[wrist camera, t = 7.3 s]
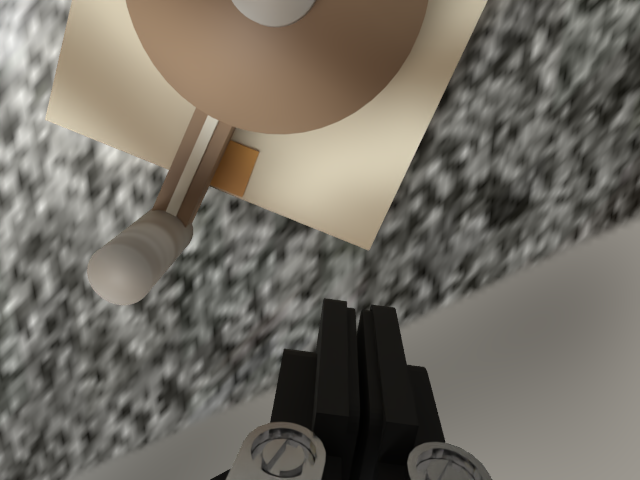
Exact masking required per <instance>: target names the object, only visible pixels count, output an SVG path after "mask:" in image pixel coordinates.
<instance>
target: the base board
mask: <svg viewBox="0 0 640 480" xmlns="http://www.w3.org/2000/svg"><path fill="white" fill-rule="evenodd" d="M487 1H488V0H428V5H427V10H426V14H425V17H424V20H423V23H422V26H421V29H420V32H419V35H418V37H417V39H416V41H415V43H414V46H413V48H412V50H411V52H410V54H409V56H408V57H407V59H406V60H405V62H404V63H403V65H402V67H401V68H400V70H399V71H398V73H397V74H396V75H395V76H394V77H393V79H392V80H391V81H390V82H389V84H388V85H387V86H386V87H385V88H384V89H383V90H382V91H381V92H380V93H379V94H378V95H377V96H376V97H375V98H374V99H373V100H372V101H370V102H369V103H367V104H366V105H365V106H363V107H362V108H361V109H359V110H358V111H357V112H355V113H353V114H351V115H350V116H348V117H346V118H344V119H342V120H341V121H339V122H336V123H333V124H331V125H328V126H326V127H323V128H320V129H316V130H312V131H308V132H304V133H294V134H264V133H257V132H251V131H246V130H243V129H240V128H237V127H236V129H235V131H234V133H233V135H232V137H231V140H230V142H229V144H228V146H227V148H226V151H225V153H224V155H223V157H222V159H221V161H220V164H219V166H218V168H217V170H216V172H215V174H214V177H213V179H212V181H211V183H210V185H209V186H211V187H213V188H215V189H218V190H220V191H223V192H225V193H228V194H230V195H233V196H235V197H238V198H240V199H243V200H245V201H248V202H250V203H253V204H255V205H258V206H260V207H263V208H265V209H268V210H270V211H272V212H275V213H277V214H280V215H282V216H285V217H287V218H290V219H292V220H295V221H297V222H300V223H302V224H305V225H307V226H310V227H312V228H315V229H317V230H320V231H322V232H324V233H327V234H329V235H332V236H334V237H337V238H339V239H342V240H344V241H347V242H349V243H352V244H354V245H357V246H359V247H362V248H364V249H367V250H369V249H370V247H371V245H372V243H373V241H374V239H375V237H376V235H377V233H378V230H379V228H380V226H381V224H382V222H383V220H384V218H385V216H386V214H387V211H388V209H389V207H390V205H391V203H392V201H393V199H394V197H395V195H396V193H397V190H398V188H399V186H400V184H401V182H402V180H403V178H404V176H405V174H406V171H407V169H408V167H409V165H410V163H411V161H412V159H413V157H414V155H415V152H416V150H417V148H418V146H419V144H420V142H421V140H422V138H423V136H424V134H425V131H426V129H427V127H428V125H429V123H430V121H431V119H432V117H433V115H434V112H435V110H436V108H437V106H438V104H439V102H440V100H441V98H442V96H443V93H444V91H445V89H446V87H447V85H448V83H449V81H450V79H451V77H452V75H453V72H454V70H455V68H456V66H457V64H458V62H459V60H460V58H461V56H462V53H463V51H464V49H465V47H466V45H467V43H468V41H469V39H470V37H471V34H472V32H473V30H474V28H475V26H476V24H477V22H478V20H479V18H480V16H481V13H482V11H483V9H484V7H485V5H486V3H487ZM195 109H196V107H195V106H193V105H192V104H191V103H189V102H188V101H187V100H186V99H184V98H183V97H182V96H181V95H180V94H179V93H178V92H177V91H176V90H175V89H174V88H173V87H172V86H171V85H170V84H169V83H168V82H167V81H166V80H165V79H164V77H163V76H162V75H161V74H160V72H159V71H158V70H157V68H156V67H155V66H154V65H153V63H152V61H151V60H150V58H149V56H148V55H147V53H146V51H145V50H144V48H143V46H142V44H141V42H140V40H139V38H138V36H137V33H136V31H135V29H134V27H133V24H132V21H131V18H130V15H129V11H128V8H127V5H126V0H72V3H71V8H70V12H69V16H68V21H67V25H66V30H65V34H64V38H63V43H62V47H61V52H60V56H59V61H58V65H57V69H56V74H55V78H54V83H53V87H52V91H51V96H50V100H49V105H48V109H47V113H46V118H45V120H47V121H50V122H52V123H54V124H57V125H59V126H62V127H64V128H67V129H69V130H72V131H74V132H77V133H79V134H82V135H84V136H87V137H89V138H92V139H94V140H97V141H99V142H102V143H104V144H107V145H109V146H111V147H114V148H116V149H119V150H121V151H124V152H126V153H129V154H131V155H134V156H136V157H139V158H141V159H144V160H146V161H149V162H151V163H154V164H156V165H159V166H161V167H163V168H166V169H168V170H169V169H170V167H171V165H172V162H173V160H174V158H175V155H176V153H177V151H178V148H179V146H180V144H181V141H182V139H183V137H184V134H185V132H186V130H187V127H188V125H189V123H190V120H191V118H192V116H193V113H194V111H195Z"/></svg>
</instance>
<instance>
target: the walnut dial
mask: <svg viewBox="0 0 640 480" xmlns="http://www.w3.org/2000/svg"><path fill="white" fill-rule="evenodd" d="M126 5H127V8H128V11H129V15H130V18H131V21H132V24H133V27H134V29H135V31H136V33H137V36H138V38H139V40H140V42H141V44H142V46H143V48H144V50H145V51H146V53H147V55H148V56H149V58H150V60H151V61H152V63H153V65H154V66H155V67H156V68H157V70H158V71H159V72H160V74H161V75H162V76H163V77H164V79H165V80H166V81H167V82H168V83H169V84H170V85H171V86H172V87H173V88H174V89H175V90H176V91H177V92H178V93H179V94H180V95H181V96H182V97H183V98H184V99H186V100H187V101H188V102H189V103H191V104H192V105H193V106H195V107H196V109H195V111H194V113H193V116H192V118H191V120H190V123H189V125H188V127H187V130H186V132H185V134H184V137H183V139H182V141H181V144H180V146H179V148H178V151H177V153H176V155H175V158H174V160H173V162H172V165H171V167H170V169H169V172H168V174H167V176H166V179H165V181H164V183H163V186H162V188H161V190H160V193H159V195H158V197H157V200H156V202H155V204H154V207H153V208H152V209H151V210H150V211H149V212H147V213H146V214H145V215H143V216H142V217H141V218H139V219H138V220H137V221H136V222H134V223H133V224H132V225H130V226H129V227H128V228H126V229H125V230H124V231H123V232H121V233H120V234H119V235H117V236H116V237H115V238H113V239H112V240H111V241H110V242H108V243H107V244H106V245H104V246H103V247H102V248H100V249H99V250H98V251H97V252H95V253H94V254H93V256H92V257H91V258H90V261H89V263H88V268H87V274H88V279H89V282H90V284H91V286H92V288H93V289H94V291H95V292H96V293H97V294H98V295H99V296H100V297H102V298H103V299H105V300H106V301H108V302H111V303H114V304H118V305H129V304H133V303H136V302H138V301H140V300H141V299H143V298H144V297H145V296H146V294H147V293H148V292H149V291H150V290H151V289H152V287H153V286H154V285H155V284H156V283H157V281H158V280H159V279H160V278H161V277H162V275H163V274H164V273H165V272H166V271H167V270H168V268H169V267H170V266H171V265H172V264H173V262H174V261H175V260H176V259H177V258H178V256H179V255H180V254H181V253H182V252H183V250H184V249H185V248H186V247H187V246H188V244H189V243H190V241H191V239H192V236H193V226H192V222H193V220H194V218H195V216H196V213H197V211H198V209H199V207H200V205H201V203H202V200H203V198H204V196H205V194H206V192H207V190H208V187H209V185H210V183H211V181H212V179H213V177H214V174H215V172H216V170H217V168H218V166H219V164H220V161H221V159H222V157H223V155H224V153H225V151H226V148H227V146H228V144H229V142H230V140H231V137H232V135H233V133H234V131H235V129H236V127H237V128H240V129H243V130H246V131H251V132H257V133H264V134H294V133H304V132H308V131H312V130H316V129H320V128H323V127H326V126H328V125H331V124H333V123H336V122H339V121H341V120H342V119H344V118H346V117H348V116H350V115H351V114H353V113H355V112H357V111H358V110H359V109H361V108H362V107H363V106H365V105H366V104H367V103H369V102H370V101H372V100H373V99H374V98H375V97H376V96H377V95H378V94H379V93H380V92H381V91H382V90H383V89H384V88H385V87H386V86H387V85H388V84H389V82H390V81H391V80H392V79H393V77H394V76H395V75H396V74H397V73H398V71H399V70H400V68H401V67H402V65H403V63H404V62H405V60H406V59H407V57H408V56H409V54H410V52H411V50H412V48H413V46H414V43H415V41H416V39H417V37H418V35H419V32H420V29H421V26H422V23H423V20H424V17H425V14H426V10H427V5H428V0H126Z"/></svg>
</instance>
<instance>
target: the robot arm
mask: <svg viewBox="0 0 640 480" xmlns="http://www.w3.org/2000/svg"><path fill="white" fill-rule="evenodd" d="M211 480H492V479H491V476H490V475H489V473H488V472H487V470H486V469H485V467H484V466H483V465H482V463H481V462H480V461H479V460H478V459H476V458H475V457H474V456H473V455H472V454H470V453H469V452H466V451H465V450H463V449H462V448H460V447H457V446H454V445H451V444H448V443H445V439H444V435H443V431H442V427H441V423H440V420H439V416H438V412H437V408H436V404H435V400H434V396H433V392H432V388H431V384H430V381H429V377H428V373H427V370H426V368H424V367H420V366H412V365H407V364H406V359H405V354H404V349H403V344H402V339H401V334H400V329H399V324H398V319H397V314H396V309H395V308H393V307H386V306H378V305H371V307H370V310H362V311H361V315H360V320H359V326H358V331H357V335H356V315H355V309H354V308H347V301H340V300H333V299H325V298H324V300H323V306H322V313H321V320H320V326H319V333H318V340H317V347H316V353H314V352H306V351H299V350H291V349H284V352H283V357H282V362H281V368H280V373H279V378H278V383H277V389H276V394H275V399H274V405H273V410H272V416H271V421H270V423H268V424H265V425H262V426H259V427H257V428H256V429H255V430H253V431H252V432H251V433H249V435H248V436H247V437H246V439H245V440H244V442H243V444H242V446H241V448H240V450H239V452H238V454H237V457H236V459H235V461H234V463H233V465H232V468H231V469H229V470H227V471H225V472H224V473H222V474H220V475H218V476H216V477H214V478H212V479H211Z"/></svg>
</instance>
